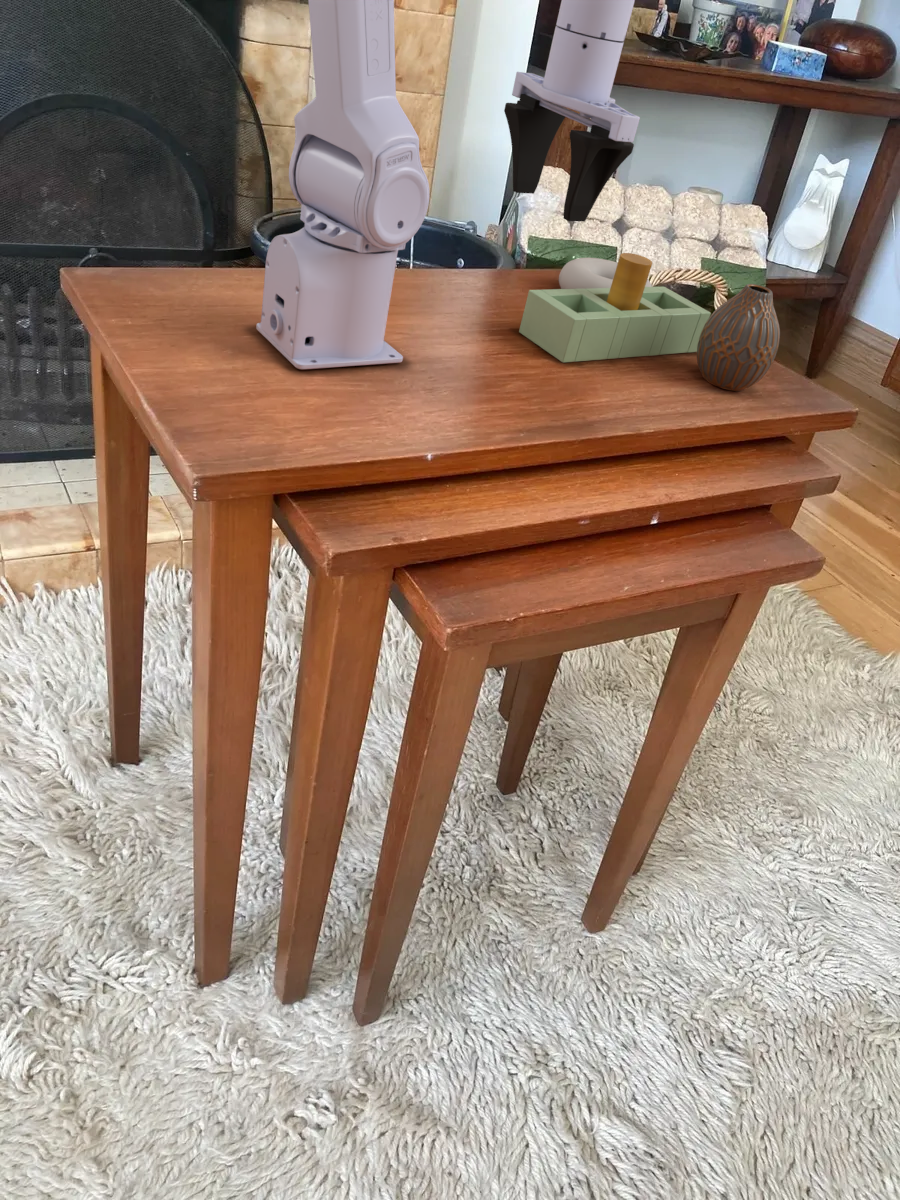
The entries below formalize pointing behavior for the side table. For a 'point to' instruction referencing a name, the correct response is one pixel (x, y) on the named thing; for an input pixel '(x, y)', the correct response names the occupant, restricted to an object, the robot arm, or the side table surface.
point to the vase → (739, 340)
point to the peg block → (611, 324)
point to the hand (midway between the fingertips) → (548, 205)
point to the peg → (629, 281)
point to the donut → (588, 274)
